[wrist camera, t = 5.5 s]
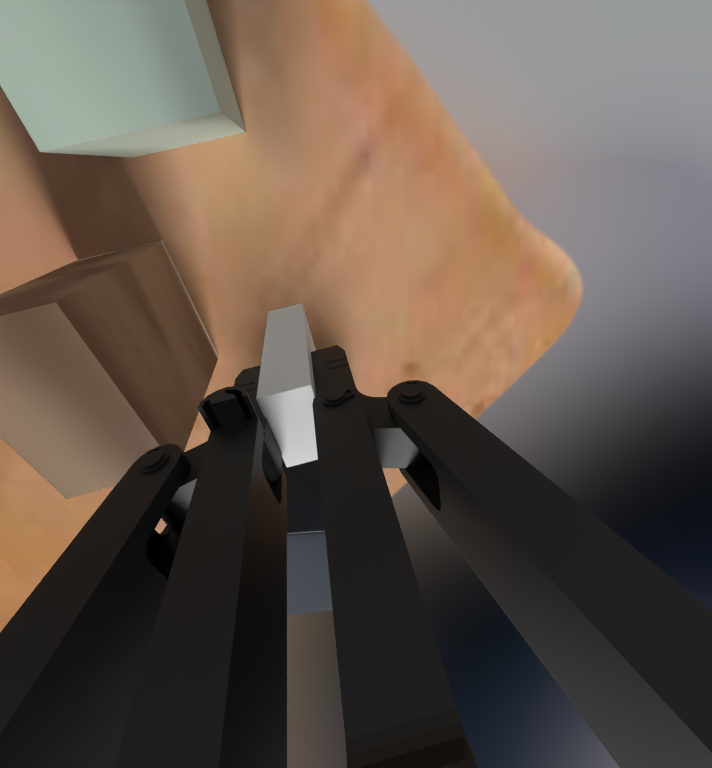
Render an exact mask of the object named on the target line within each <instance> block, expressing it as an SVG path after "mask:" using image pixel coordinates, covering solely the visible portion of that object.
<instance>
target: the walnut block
mask: <svg viewBox="0 0 712 768" xmlns="http://www.w3.org/2000/svg"><path fill="white" fill-rule="evenodd" d="M218 357H219V355H218V353H217V351H216V349H215V347H214V345H213V343H212V341H211V339H210V337H209V335H208V333H207V331H206V329H205V326H204V324H203V322H202V320H201V318H200V316H199V314H198V312H197V310H196V308H195V306H194V304H193V302H192V300H191V297H190V295H189V293H188V291H187V289H186V287H185V285H184V283H183V281H182V279H181V277H180V275H179V273H178V271H177V269H176V266H175V264H174V262H173V260H172V258H171V256H170V254H169V252H168V250H167V248H166V246H165V244H164V242H163V240H161V241H156V242H152V243H148V244H144V245H139V246H135V247H131V248H127V249H122V250H118V251H114V252H110V253H105V254H101V255H97V256H93V257H88V258H84V259H80V260H77V261H74V262H72V263H70V264H68V265H65V266H63V267H61V268H59V269H56V270H54V271H52V272H50V273H47V274H45V275H43V276H41V277H38V278H36V279H34V280H32V281H29V282H27V283H25V284H23V285H20V286H18V287H16V288H14V289H11V290H9V291H7V292H5V293H2V294H0V438H1V439H3V440H4V441H5V442H6V443H7V444H8V445H9V446H10V447H11V448H12V449H13V450H14V451H15V452H17V453H18V454H19V455H20V456H21V457H22V458H23V459H24V460H25V461H26V462H27V463H28V464H29V465H31V466H32V467H33V468H34V469H35V470H36V471H37V472H38V473H39V474H40V475H41V476H42V477H43V478H45V479H46V480H47V481H48V482H49V483H50V484H51V485H52V486H53V487H54V488H55V489H56V490H57V491H59V492H60V493H61V494H62V495H63V496H64V497H65V498H66V499H67V498H71V497H75V496H79V495H83V494H87V493H91V492H94V491H98V490H102V489H106V488H110V487H114V486H116V485H117V483H118V482H119V481H120V480H121V478H122V477H123V476H124V475H125V473H126V472H127V471H128V469H129V468H130V467H131V466H132V464H133V463H134V462H135V461H136V460H137V459H138V458H139V457H141V456H142V455H143V454H145V453H146V452H147V451H149V450H151V449H154V448H155V447H158V446H161V445H166V444H176V445H178V446H179V447H180V448H181V449H182V451H183V452H184V450H185V447H186V445H187V442H188V439H189V436H190V434H191V431H192V428H193V426H194V423H195V420H196V417H197V415H198V412H199V410H198V408H197V407H198V406H199V404H200V403H201V401H202V400H203V398H204V396H205V393H206V390H207V387H208V385H209V382H210V379H211V377H212V374H213V371H214V368H215V366H216V363H217V360H218Z"/></svg>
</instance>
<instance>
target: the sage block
mask: <svg viewBox="0 0 712 768" xmlns="http://www.w3.org/2000/svg"><path fill="white" fill-rule="evenodd" d="M0 86H1V87H2V89H3V91H4V92H5V94H6V96H7V98H8V99H9V101H10V103H11V104H12V106H13V108H14V109H15V111H16V113H17V114H18V116H19V118H20V119H21V121H22V123H23V124H24V126H25V128H26V130H27V131H28V133H29V135H30V136H31V138H32V140H33V141H34V143H35V145H36V146H37V148H38V150H39V151H40V152H46V153H63V154H80V155H97V156H114V157H131V158H134V157H138V156H143V155H147V154H152V153H156V152H161V151H165V150H170V149H174V148H178V147H183V146H187V145H192V144H196V143H201V142H205V141H210V140H214V139H219V138H223V137H227V136H232V135H236V134H241V133H245V132H246V131H245V127H244V124H243V121H242V117H241V114H240V111H239V107H238V104H237V101H236V97H235V94H234V91H233V87H232V84H231V81H230V77H229V74H228V71H227V67H226V64H225V61H224V57H223V54H222V51H221V47H220V44H219V41H218V37H217V34H216V31H215V27H214V24H213V21H212V17H211V14H210V11H209V7H208V4H207V1H206V0H0Z"/></svg>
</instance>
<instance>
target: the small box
mask: <svg viewBox="0 0 712 768" xmlns="http://www.w3.org/2000/svg"><path fill="white" fill-rule="evenodd" d="M282 469H283V471H284V474H285V476H286V480H287V615H293V614H301V613H310V612H319V611H329V610H333V607H332V597H331V587H330V577H329V567H328V557H327V547H326V537H325V527H324V517H323V506H322V496H321V486H320V476H319V466H318V460H314V461H310V462H306V463H303V464H299V465H295V466H291V467H286V464H285V462H284V460H283V458H282Z"/></svg>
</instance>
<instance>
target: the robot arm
mask: <svg viewBox="0 0 712 768" xmlns="http://www.w3.org/2000/svg"><path fill="white" fill-rule="evenodd" d="M197 408H198V410H199V412H200V413H201V415H202V417H203V418H204V420H205V422H206V424H207V425H208V427H209V429H210V430H211V432H210V435H209V439H208V441H207V442H205V443H203V444H201V445H199V446H197V447H195V448H193V449H191V450H189V451H186V452H183V451H182V449H181V448H180V447H179V446H178V445H176V444H166V445H161V446H158V447H155V448H154V449H151V450H149V451H147V452H146V453H145V454H143V455H142V456H141V457H139V458H138V459H137V460H136V461H135V462H134V463H133V464H132V466H131V467H130V468H129V469H128V471H127V472H126V473H125V475H124V476H123V477H122V478H121V480H120V481H119V482H118V483H117V485H116V486H115V487H114V489H113V490H112V491H111V492H110V494H109V495H108V496H107V497H106V499H105V500H104V501H103V503H102V504H101V505H100V506H99V508H98V509H97V510H96V512H95V513H94V514H93V515H92V517H91V518H90V519H89V520H88V522H87V523H86V524H85V526H84V527H83V528H82V529H81V531H80V532H79V533H78V534H77V536H76V537H75V538H74V540H73V541H72V542H71V543H70V545H69V546H68V547H67V548H66V550H65V551H64V552H63V554H62V555H61V556H60V557H59V559H58V560H57V561H56V563H55V564H54V565H53V566H52V568H51V569H50V570H49V571H48V573H47V574H46V575H45V577H44V578H43V579H42V580H41V582H40V583H39V584H38V585H37V587H36V588H35V589H34V591H33V592H32V593H31V594H30V596H29V597H28V598H27V599H26V601H25V602H24V603H23V605H22V606H21V607H20V608H19V610H18V611H17V612H16V614H15V615H14V616H13V617H12V619H11V620H10V621H9V622H8V624H7V625H6V626H5V628H4V629H3V630H2V631H1V633H0V768H287V480H286V476H285V474H284V471H283V469H282V458H283V460H284V462H285V464H286V467H291V466H295V465H299V464H303V463H306V462H310V461H314V460H318V466H319V476H320V486H321V496H322V506H323V517H324V527H325V537H326V547H327V557H328V567H329V577H330V587H331V597H332V607H333V617H334V626H335V637H336V648H337V657H338V668H339V678H340V688H341V698H342V706H343V707H342V708H343V718H344V727H345V738H346V751H347V768H478V767H477V764H476V762H475V759H474V756H473V753H472V751H471V748H470V746H469V743H468V741H467V738H466V736H465V733H464V730H463V727H462V724H461V722H460V718H459V715H458V712H457V709H456V706H455V702H454V699H453V696H452V693H451V689H450V686H449V683H448V680H447V677H446V673H445V670H444V667H443V664H442V661H441V657H440V654H439V651H438V647H437V644H436V641H435V638H434V635H433V631H432V628H431V625H430V622H429V618H428V615H427V612H426V609H425V605H424V602H423V599H422V596H421V593H420V589H419V586H418V583H417V580H416V576H415V573H414V570H413V567H412V564H411V560H410V557H409V554H408V551H407V547H406V544H405V541H404V538H403V534H402V531H401V528H400V525H399V522H398V518H397V515H396V512H395V508H394V505H393V502H392V499H391V496H390V492H389V489H388V486H387V483H386V479H385V476H384V473H383V470H382V468H399V469H400V471H401V473H402V475H403V476H404V477H405V479H406V480H407V481H408V483H409V484H410V485H411V487H412V488H413V489H414V491H415V492H416V493H417V495H418V496H419V497H420V499H421V500H422V501H423V503H424V504H425V505H426V507H427V508H428V510H429V511H430V512H431V514H432V515H433V516H434V518H435V519H436V520H437V522H438V523H439V524H440V526H441V527H442V528H443V530H444V531H445V533H446V534H447V535H448V536H449V538H450V539H451V541H452V542H453V543H454V545H455V546H456V547H457V549H458V550H459V551H460V553H461V554H462V555H463V557H464V558H465V559H466V561H467V562H468V564H469V565H470V566H471V567H472V569H473V570H474V572H475V573H476V574H477V576H478V577H479V578H480V580H481V581H482V582H483V584H484V585H485V586H486V588H487V589H488V590H489V592H490V593H491V594H492V596H493V597H494V598H495V600H496V601H497V603H498V604H499V605H500V607H501V608H502V609H503V611H504V612H505V613H506V615H507V616H508V617H509V619H510V620H511V621H512V623H513V624H514V625H515V627H516V628H517V629H518V631H519V632H520V634H521V635H522V636H523V638H524V639H525V640H526V642H527V643H528V644H529V646H530V647H531V648H532V650H533V651H534V652H535V654H536V655H537V656H538V658H539V659H540V661H541V662H542V663H543V665H544V666H545V667H546V669H547V670H548V671H549V673H550V674H551V675H552V677H553V678H554V679H555V680H556V682H557V683H558V685H559V686H560V687H561V689H562V690H563V691H564V693H565V694H566V695H567V697H568V698H569V700H570V701H571V702H572V704H573V705H574V706H575V708H576V709H577V710H578V711H579V713H580V714H581V716H582V717H583V718H584V720H585V721H586V722H587V724H588V725H589V727H590V728H591V729H592V730H593V732H594V733H595V735H596V736H597V737H598V739H599V740H600V741H601V743H602V744H603V745H604V747H605V748H606V749H607V751H608V752H609V753H610V755H611V756H612V757H613V759H614V760H615V762H616V763H617V764H618V766H619V767H620V768H712V611H711V610H710V609H709V608H708V607H706V606H705V605H704V604H702V603H701V602H700V601H699V600H698V599H696V598H695V597H694V596H692V595H691V594H690V593H689V592H688V591H687V590H685V589H684V588H683V587H682V586H680V585H679V584H678V583H677V582H675V581H674V580H673V579H672V578H670V577H669V576H668V575H667V574H666V573H664V572H663V571H662V570H661V569H659V568H658V567H657V566H656V565H654V564H653V563H652V562H651V561H649V560H648V559H647V558H646V557H644V556H643V555H642V554H641V553H640V552H638V551H637V550H636V549H635V548H633V547H632V546H631V545H630V544H628V543H627V542H626V541H625V540H623V539H622V538H621V537H620V536H619V535H617V534H616V533H615V532H614V531H612V530H611V529H610V528H609V527H607V526H606V525H605V524H604V523H602V522H601V521H600V520H599V519H598V518H596V517H595V516H594V515H593V514H591V513H590V512H589V511H588V510H586V509H585V508H584V507H583V506H581V505H580V504H579V503H578V502H577V501H575V500H574V499H573V498H572V497H570V496H569V495H568V494H567V493H565V492H564V491H563V490H562V489H560V488H559V487H558V486H557V485H556V484H554V483H553V482H552V481H551V480H549V479H548V478H547V477H546V476H544V475H543V474H542V473H541V472H539V471H538V470H537V469H536V468H534V467H533V466H532V465H531V464H530V463H528V462H527V461H526V460H525V459H523V458H522V457H521V456H520V455H518V454H517V453H516V452H515V451H513V450H512V449H511V448H510V447H509V446H507V445H506V444H505V443H504V442H502V441H501V440H500V439H499V438H497V437H496V436H495V435H494V434H492V433H491V432H490V431H489V430H488V429H486V428H485V427H484V426H482V425H481V424H480V423H479V422H478V421H476V420H475V419H474V418H473V417H471V416H470V415H469V414H468V413H467V412H465V411H464V410H463V409H462V408H460V407H459V406H458V405H457V404H455V403H454V402H453V401H452V400H450V399H449V398H448V397H447V396H446V395H444V394H443V393H442V392H441V391H439V390H438V389H437V388H436V387H434V386H433V385H431V384H429V383H427V382H424V381H419V380H414V381H406V382H402V383H399V384H397V385H396V386H394V387H392V388H391V390H390V391H389V392H388V395H387V397H369V396H366V395H363V394H361V393H360V392H359V391H358V390H357V388H356V386H355V383H354V380H353V377H352V373H351V370H350V367H349V364H348V360H347V357H346V354H345V351H344V350H343V349H342V348H340V347H339V346H337V345H336V346H332V347H328V348H324V349H320V350H316V349H315V345H314V342H313V338H312V335H311V332H310V328H309V325H308V321H307V318H306V314H305V311H304V307H303V304H302V303H301V304H297V305H292V306H288V307H284V308H280V309H276V310H272V311H268V316H267V324H266V331H265V338H264V346H263V353H262V360H261V366H257V367H253V368H249V369H245V370H243V371H242V372H241V373H240V374H239V375H238V377H237V378H236V380H235V384H234V386H233V387H226V388H223V389H220V390H218V391H215V392H214V393H212V394H210V395H208V396H207V397H206V398H205V399H204V400H202V401H201V403H200V404H199V406H198V407H197ZM161 518H162V519H163V521H164V522H165V523H166V524H167V525H166V527H165V529H164V530H163V531H162V532H161V534H159V533H157V531H156V530H155V527H156V526H157V524H158V522H159V521H160V519H161Z"/></svg>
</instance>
